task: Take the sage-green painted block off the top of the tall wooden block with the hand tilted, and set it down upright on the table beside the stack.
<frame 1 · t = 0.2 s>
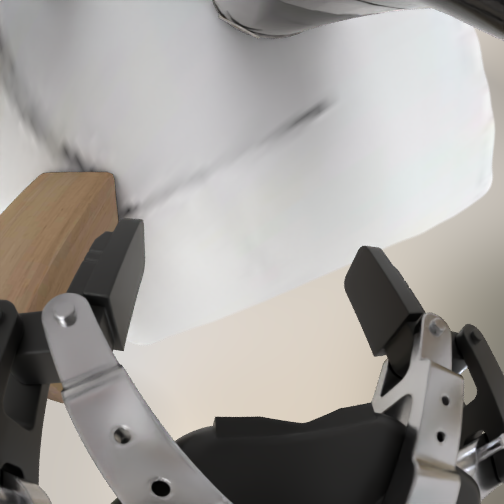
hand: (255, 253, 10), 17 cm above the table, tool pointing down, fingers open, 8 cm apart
wooden block: (82, 207, 26), on the table, touching green block
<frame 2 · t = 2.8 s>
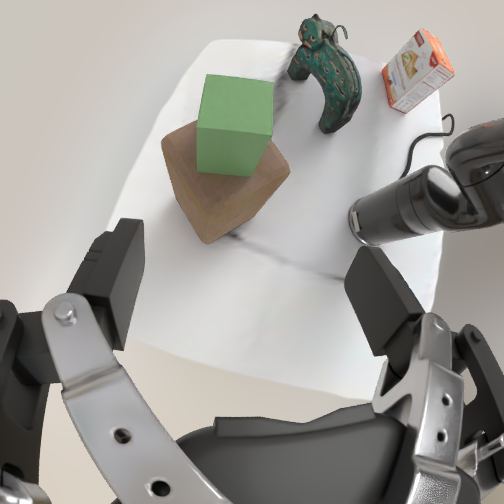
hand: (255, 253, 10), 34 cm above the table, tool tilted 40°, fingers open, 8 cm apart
cracker box: (392, 91, 56), on the table
ceramic cat: (310, 98, 50), on the table
wooden block: (215, 205, 44), on the table, touching green block
green block: (226, 150, 25), point 20 cm above the table, touching wooden block
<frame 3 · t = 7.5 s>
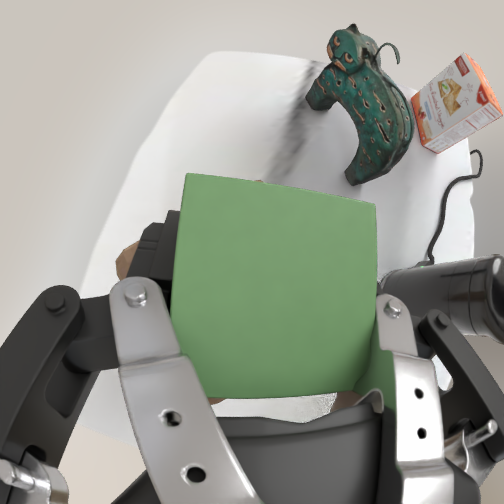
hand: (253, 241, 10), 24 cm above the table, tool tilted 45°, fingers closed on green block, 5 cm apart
cracker box: (423, 125, 47), on the table
ceramic cat: (334, 135, 41), on the table
wooden block: (210, 291, 33), on the table, touching green block
green block: (234, 292, 14), point 20 cm above the table, touching gripper, wooden block
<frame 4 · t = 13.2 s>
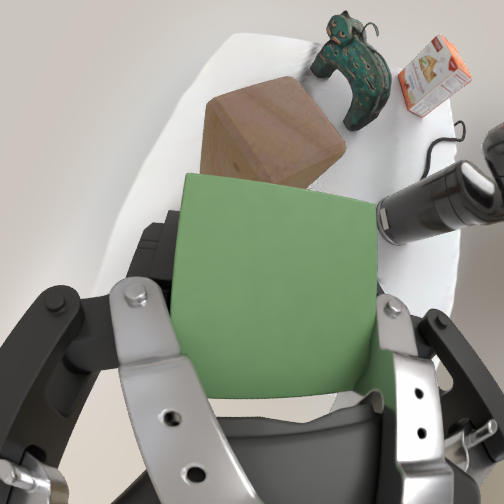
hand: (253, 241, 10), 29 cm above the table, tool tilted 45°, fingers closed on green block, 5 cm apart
cracker box: (408, 96, 55), on the table
ceramic cat: (334, 95, 48), on the table
wooden block: (241, 195, 41), on the table
green block: (234, 292, 14), point 25 cm above the table, touching gripper
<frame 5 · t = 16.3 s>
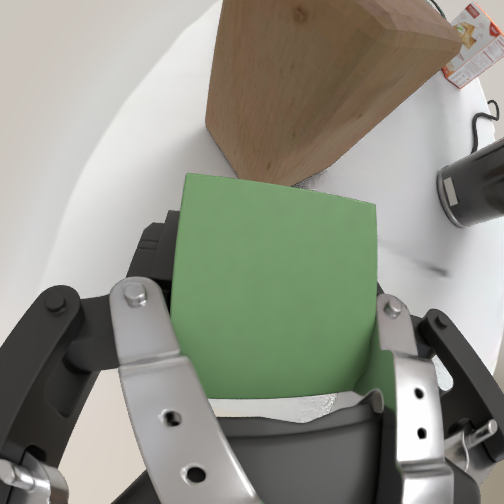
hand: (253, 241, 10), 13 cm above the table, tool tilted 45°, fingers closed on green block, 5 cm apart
cracker box: (443, 65, 40), on the table
wooden block: (268, 145, 26), on the table
green block: (234, 292, 14), point 9 cm above the table, touching gripper
when the fingers open (4 cm above the table, at t = 18.9 s): green block stays where it is, on the table.
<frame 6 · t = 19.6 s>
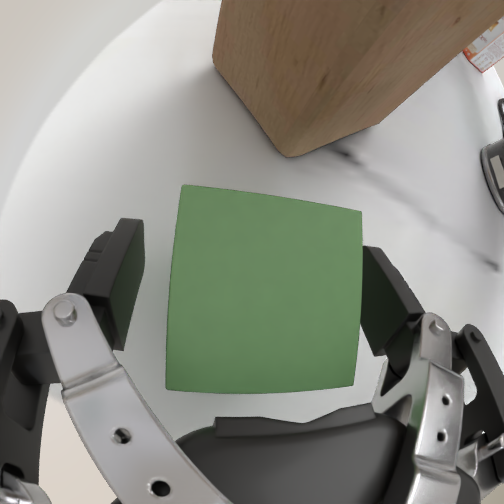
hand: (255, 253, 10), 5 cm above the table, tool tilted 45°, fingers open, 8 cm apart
cracker box: (463, 48, 32), on the table
wooden block: (297, 92, 17), on the table
green block: (230, 293, 14), on the table
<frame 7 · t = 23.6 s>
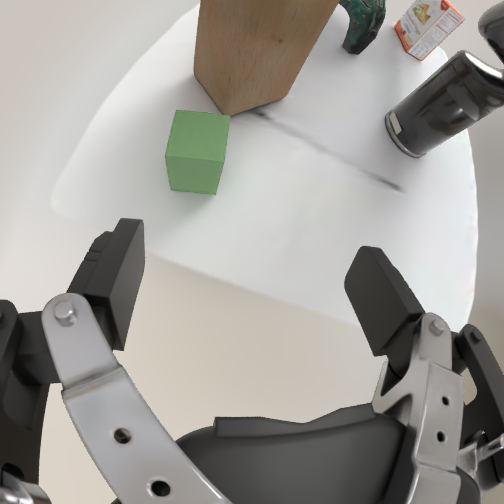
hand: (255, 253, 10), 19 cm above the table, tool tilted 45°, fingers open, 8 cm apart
cracker box: (406, 43, 47), on the table
ceramic cat: (332, 27, 40), on the table
wooden block: (238, 85, 33), on the table
green block: (196, 171, 29), on the table
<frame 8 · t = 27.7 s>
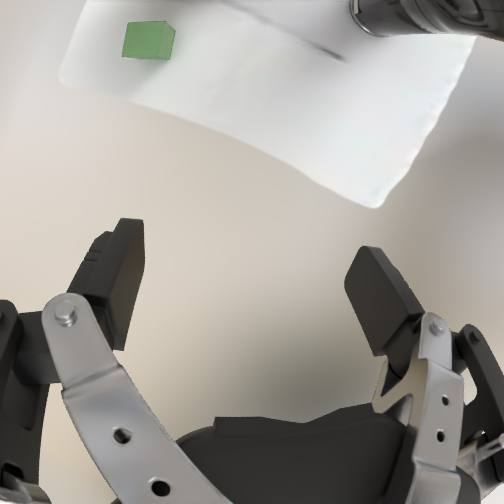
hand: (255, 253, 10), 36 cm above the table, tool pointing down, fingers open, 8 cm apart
green block: (156, 44, 30), on the table
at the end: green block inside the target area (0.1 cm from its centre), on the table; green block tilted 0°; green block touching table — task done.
